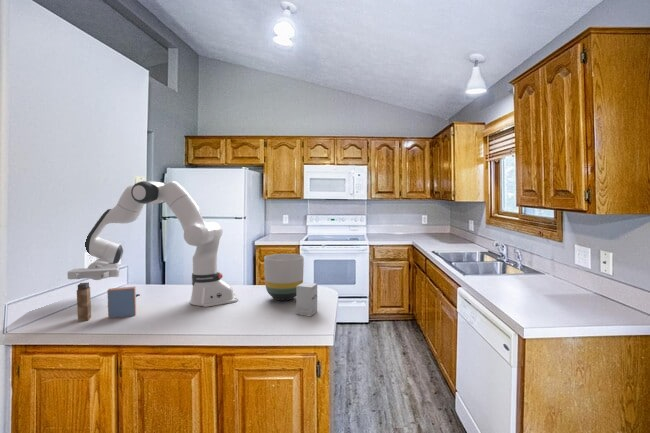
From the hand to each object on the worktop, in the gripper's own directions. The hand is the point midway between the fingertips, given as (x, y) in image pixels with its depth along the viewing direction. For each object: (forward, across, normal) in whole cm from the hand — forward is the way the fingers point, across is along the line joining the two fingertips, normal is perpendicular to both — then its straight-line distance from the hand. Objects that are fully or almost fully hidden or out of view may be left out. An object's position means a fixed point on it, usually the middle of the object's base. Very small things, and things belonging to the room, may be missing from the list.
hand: (90, 276), depth 154 cm
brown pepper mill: (+12, +1, +15) cm, 20 cm away
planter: (+14, +86, +14) cm, 88 cm away
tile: (+13, +15, +15) cm, 25 cm away
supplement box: (+38, +90, +14) cm, 98 cm away
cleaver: (-7, +15, +16) cm, 23 cm away
